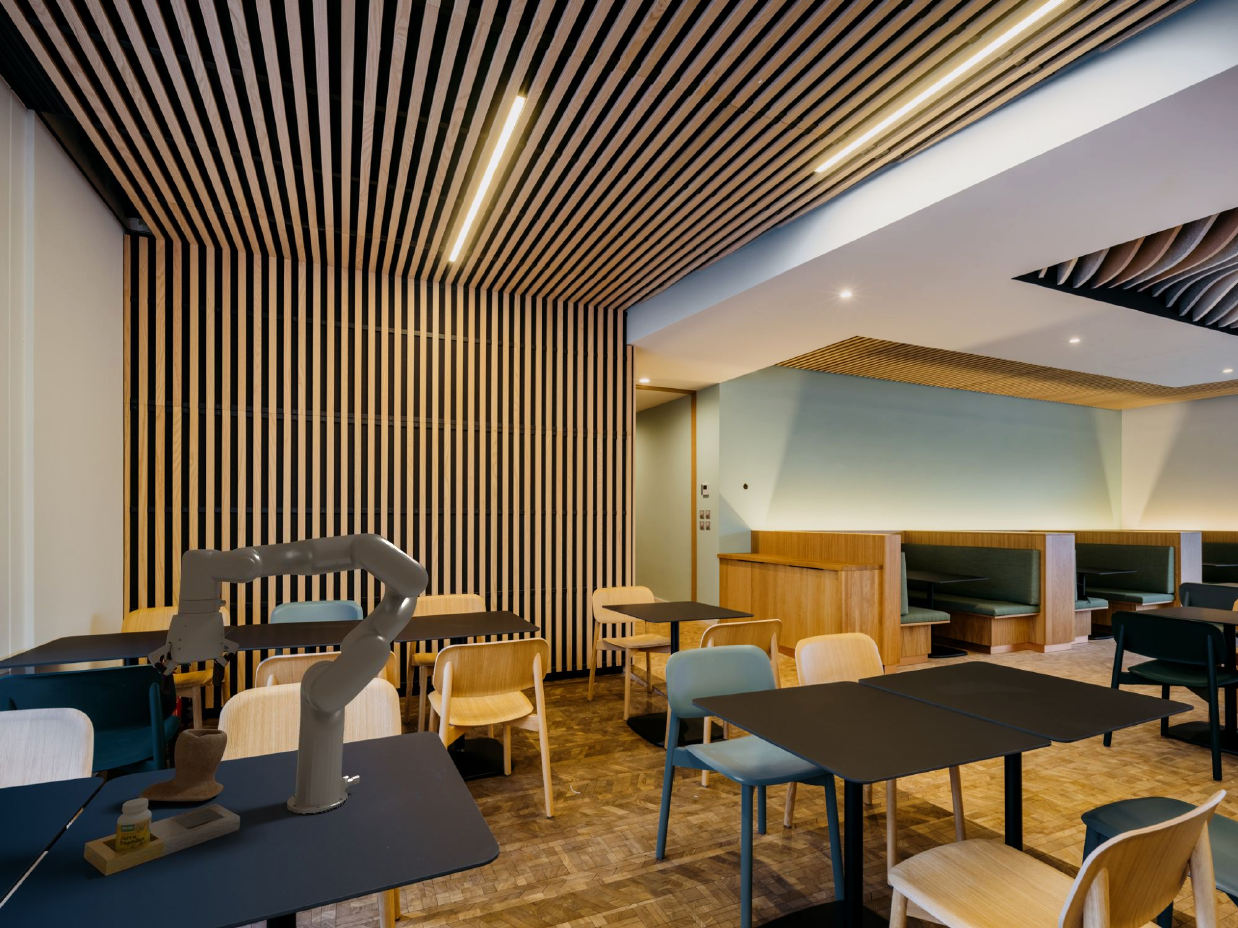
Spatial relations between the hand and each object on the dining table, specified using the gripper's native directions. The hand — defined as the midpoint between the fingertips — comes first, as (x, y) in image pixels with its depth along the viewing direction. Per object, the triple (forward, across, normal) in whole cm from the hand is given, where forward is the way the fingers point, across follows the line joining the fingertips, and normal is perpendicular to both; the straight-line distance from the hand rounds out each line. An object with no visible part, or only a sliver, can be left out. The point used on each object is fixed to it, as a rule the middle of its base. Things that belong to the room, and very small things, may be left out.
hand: (192, 689), depth 139 cm
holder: (+28, +4, +4) cm, 29 cm away
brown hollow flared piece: (+29, -8, -17) cm, 34 cm away
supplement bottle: (+28, +10, +4) cm, 31 cm away
